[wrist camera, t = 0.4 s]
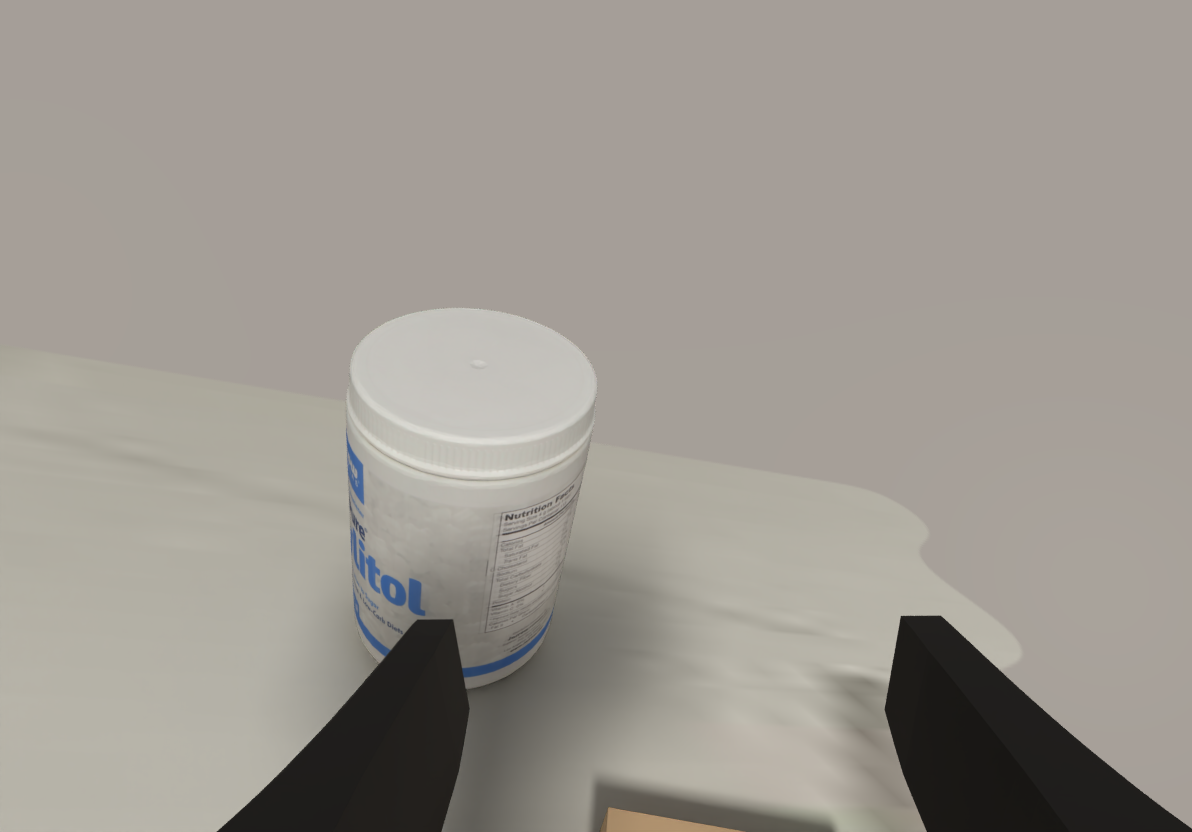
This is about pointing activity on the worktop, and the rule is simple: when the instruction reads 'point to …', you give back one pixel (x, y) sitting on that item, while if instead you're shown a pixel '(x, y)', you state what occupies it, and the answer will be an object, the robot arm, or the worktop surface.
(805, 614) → the worktop surface
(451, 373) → the supplement tub
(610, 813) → the slab
